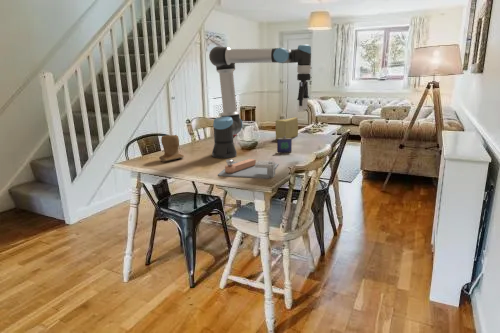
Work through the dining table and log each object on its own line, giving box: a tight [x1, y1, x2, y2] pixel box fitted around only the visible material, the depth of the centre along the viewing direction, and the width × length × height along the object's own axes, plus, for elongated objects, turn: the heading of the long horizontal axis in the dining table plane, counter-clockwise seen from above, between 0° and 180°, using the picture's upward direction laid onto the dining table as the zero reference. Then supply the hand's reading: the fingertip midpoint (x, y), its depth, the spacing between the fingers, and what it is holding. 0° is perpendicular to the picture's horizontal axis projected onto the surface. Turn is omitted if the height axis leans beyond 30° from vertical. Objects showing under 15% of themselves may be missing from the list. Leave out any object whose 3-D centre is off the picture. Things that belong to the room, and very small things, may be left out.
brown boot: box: [158, 134, 185, 163], centre depth 204 cm, size 15×12×15 cm
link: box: [224, 158, 257, 173], centre depth 179 cm, size 21×5×3 cm, turn 140°
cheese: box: [275, 116, 299, 140], centre depth 264 cm, size 22×10×15 cm, turn 137°
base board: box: [217, 161, 280, 180], centre depth 180 cm, size 26×26×1 cm
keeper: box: [255, 159, 276, 178], centre depth 169 cm, size 9×8×6 cm
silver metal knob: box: [225, 158, 235, 166], centre depth 173 cm, size 4×4×3 cm
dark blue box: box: [276, 136, 293, 154], centre depth 216 cm, size 9×3×11 cm, turn 95°
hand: (302, 110), depth 204 cm, fingers open, 13 cm apart
